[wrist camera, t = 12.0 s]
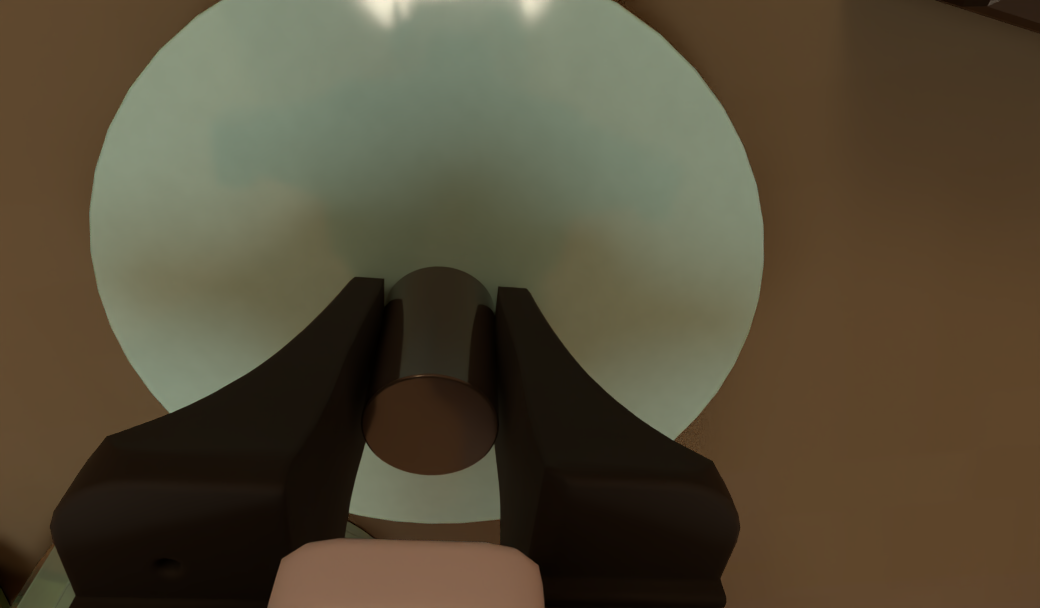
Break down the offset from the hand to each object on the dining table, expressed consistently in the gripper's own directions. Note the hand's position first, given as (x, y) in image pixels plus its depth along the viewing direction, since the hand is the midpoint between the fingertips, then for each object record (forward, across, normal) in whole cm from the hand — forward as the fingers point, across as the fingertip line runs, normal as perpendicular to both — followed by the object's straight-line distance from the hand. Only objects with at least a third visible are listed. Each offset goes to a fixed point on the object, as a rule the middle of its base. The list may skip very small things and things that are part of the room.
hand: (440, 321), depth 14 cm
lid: (+1, 0, 0) cm, 1 cm away
